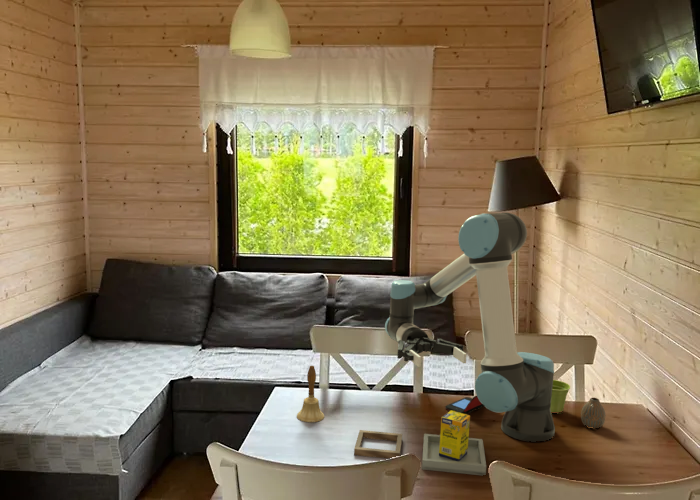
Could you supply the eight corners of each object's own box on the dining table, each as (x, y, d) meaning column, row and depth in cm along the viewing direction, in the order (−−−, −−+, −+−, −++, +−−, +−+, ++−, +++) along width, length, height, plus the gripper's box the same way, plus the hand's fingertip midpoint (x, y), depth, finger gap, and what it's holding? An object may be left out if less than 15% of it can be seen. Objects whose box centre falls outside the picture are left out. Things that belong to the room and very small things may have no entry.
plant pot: (535, 413, 209) (537, 386, 208) (539, 402, 218) (541, 377, 217) (566, 418, 206) (569, 392, 204) (569, 408, 214) (571, 382, 213)
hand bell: (325, 422, 196) (327, 370, 194) (297, 422, 195) (299, 370, 193) (322, 411, 204) (324, 361, 202) (295, 411, 203) (297, 361, 201)
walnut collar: (402, 440, 186) (402, 433, 186) (399, 459, 175) (399, 453, 174) (359, 435, 188) (359, 429, 188) (354, 455, 176) (354, 448, 176)
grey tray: (481, 447, 184) (482, 439, 183) (485, 475, 168) (486, 466, 167) (423, 442, 186) (424, 433, 185) (421, 469, 170) (422, 460, 170)
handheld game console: (466, 399, 219) (468, 378, 218) (494, 409, 211) (496, 387, 210) (443, 409, 210) (445, 386, 209) (472, 420, 202) (473, 397, 201)
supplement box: (459, 462, 173) (462, 422, 171) (438, 456, 176) (440, 416, 174) (468, 454, 178) (470, 415, 176) (447, 447, 181) (450, 409, 179)
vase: (606, 432, 197) (609, 404, 195) (581, 429, 198) (584, 401, 197) (602, 423, 203) (605, 396, 202) (578, 420, 205) (581, 393, 203)
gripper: (449, 348, 207) (482, 370, 186) (373, 353, 199) (399, 376, 179) (450, 324, 205) (484, 344, 185) (374, 328, 198) (400, 349, 178)
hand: (442, 360), depth 182 cm, fingers open, 13 cm apart
